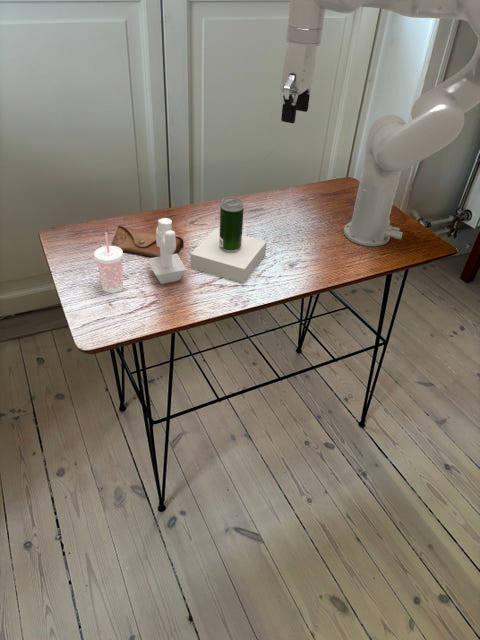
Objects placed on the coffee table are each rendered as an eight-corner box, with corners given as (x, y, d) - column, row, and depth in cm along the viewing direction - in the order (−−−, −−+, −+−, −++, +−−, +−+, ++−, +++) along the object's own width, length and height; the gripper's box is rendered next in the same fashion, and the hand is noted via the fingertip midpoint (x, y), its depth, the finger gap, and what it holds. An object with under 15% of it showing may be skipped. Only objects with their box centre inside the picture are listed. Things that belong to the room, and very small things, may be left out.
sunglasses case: (104, 250, 128) (108, 224, 127) (116, 251, 134) (119, 225, 133) (173, 263, 125) (177, 236, 124) (181, 262, 132) (185, 236, 131)
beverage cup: (93, 286, 116) (84, 232, 107) (115, 275, 120) (108, 222, 111) (110, 298, 113) (102, 243, 104) (132, 286, 117) (126, 232, 108)
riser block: (265, 255, 130) (266, 241, 127) (243, 283, 120) (244, 269, 117) (215, 241, 134) (215, 228, 131) (190, 267, 124) (190, 253, 121)
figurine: (176, 264, 125) (174, 208, 115) (188, 285, 118) (187, 228, 109) (147, 269, 122) (142, 212, 113) (157, 291, 116) (154, 233, 106)
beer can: (226, 255, 122) (228, 209, 114) (215, 245, 125) (216, 199, 117) (245, 249, 124) (248, 204, 116) (233, 239, 127) (235, 195, 120)
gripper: (300, 27, 118) (291, 104, 129) (274, 40, 106) (267, 123, 117) (331, 31, 116) (320, 109, 127) (308, 45, 104) (298, 130, 115)
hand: (294, 116), depth 122 cm, fingers open, 9 cm apart
